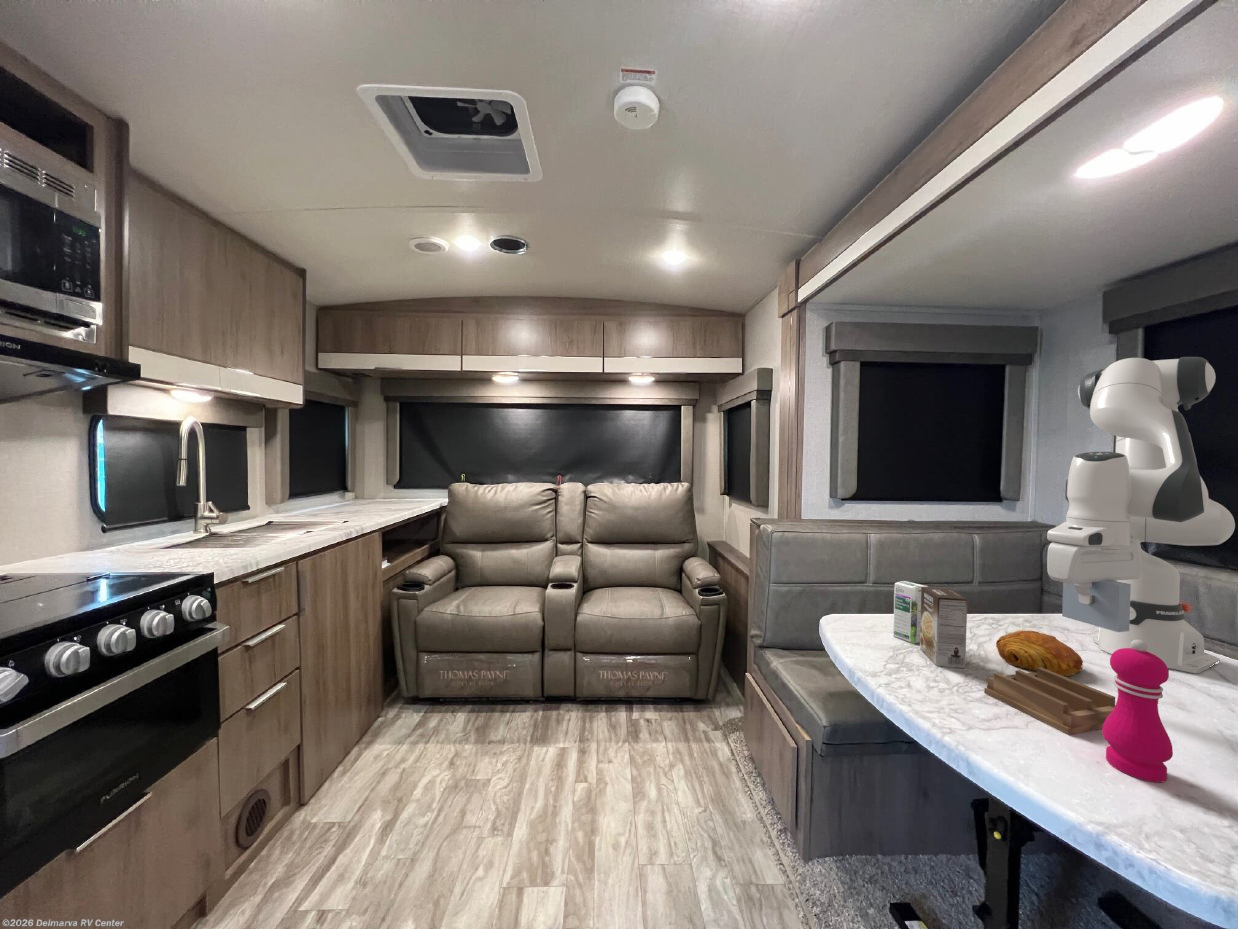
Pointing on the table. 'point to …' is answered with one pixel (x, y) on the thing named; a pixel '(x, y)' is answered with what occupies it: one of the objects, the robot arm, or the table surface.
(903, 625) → the syrup box
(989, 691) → the rack
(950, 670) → the table surface
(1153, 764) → the pepper mill
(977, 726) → the table surface
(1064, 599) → the tile
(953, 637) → the coffee box
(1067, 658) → the croissant
